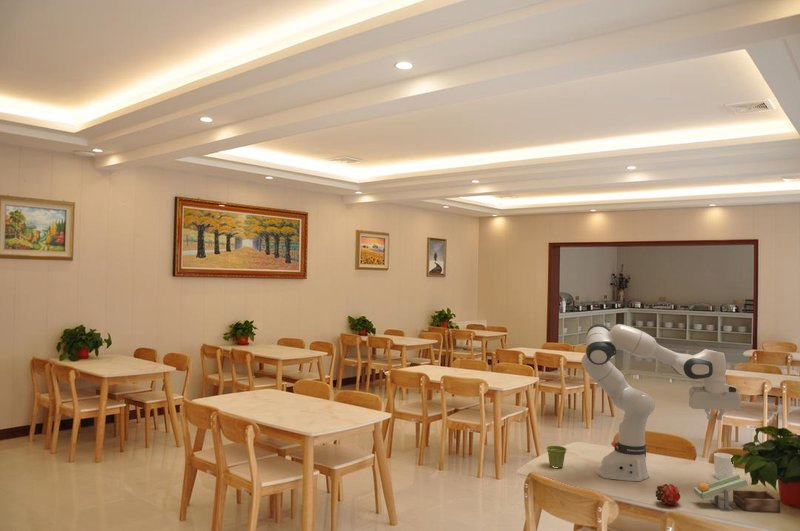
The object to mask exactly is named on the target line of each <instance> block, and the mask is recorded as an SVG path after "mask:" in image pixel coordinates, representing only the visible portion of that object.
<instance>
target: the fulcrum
mask: <svg viewBox="0 0 800 531" xmlns="http://www.w3.org/2000/svg"><path fill="white" fill-rule="evenodd" d="M709 501H710V502H711V503H712V504H713V505H715V507H716V508H718V509H719V510H720V511H728V512H729V511H731V512H732V511H734V509H733V508H732V507H731V506H730V505H729V492H728V491H727V490H724V493H723V500H722V499H720V498H719V495H717V496H714V497H713V498H709Z"/></svg>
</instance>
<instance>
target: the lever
mask: <svg viewBox="0 0 800 531" xmlns="http://www.w3.org/2000/svg"><path fill="white" fill-rule="evenodd" d="M715 478H716V480H717V481H716V480H715V481H713V482H710V483H706V484H707V485H708V486H709V491H706V492H703V493H702V492H701V491H700V490H699V489H698V486H697V487H696V486H694V487H693V490H694V493H695V495H696V496H697V497H699V498H700V499H701V500H702V501H704V500H707V499H712V498H714V496H717V495H718V496H721V495H724V490H727V491H728V493H730V492H733V490H738V489H739V490H740V489H741V488H744V487H747V486H749V485H748V481H747V479H746V478H745V479H742V478H740V475H739V474H735V475H734V474H733V476H731V477H728V476H726V475H722V476H719V477H715Z"/></svg>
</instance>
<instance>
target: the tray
mask: <svg viewBox="0 0 800 531" xmlns="http://www.w3.org/2000/svg"><path fill="white" fill-rule="evenodd" d="M732 502H733V503H734V504H736V505H737V506H739V507H740V509H742V510H743V511H745V512H760V513H761V512H763V513H764V512H765V513H767V512H768V513H781V499H779V498H777V497H775V496H774V495H773V494H771V493H770V492H768V491H767V490H740V489H739V490H738V489H735V490H732Z"/></svg>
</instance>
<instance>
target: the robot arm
mask: <svg viewBox="0 0 800 531" xmlns="http://www.w3.org/2000/svg"><path fill="white" fill-rule="evenodd" d="M617 350H621V351H623V352H626V353H628V354H630V355H632V356H634V357H638V358H641V359H642V358H643V359H651V358H652V359H655V360H657V361H660V362H662V363H664V364H666V365H668V366H670V368H672V369H673V370H674V371H675V373H676V374H678V375H680V376H683V377H686V378H688V379H691V380H701V379H702V386H692V387H690V388H689V391H688V395H689V398H688V406H689V407H690V408H691V409H693V410H695V409H696V410H704V412H705V413H706V415H707V420H709V421H710V420H711V421H712V420H713V419H714V417H713V415H712V414H710V412H711V410H718V411H719V413H718V414H716V420H717V421H722V420H723V416H724V413H725V412H726V411H725V410H728V411H729V410H731V411H732V410H733V411H734V410H735V411H736V410H737V411H738V410H739V411H740V409H741V408H742V401H741V395H740V394H739V387H736V386H735V385H732V384H729V383H727V377H726V373H727V363H726V362H727V360H726V356H725V353H724V352H723V351H722V350H719V349H715V348H714V349H713V348H710V347H709V348H704V349H703V350H702V351H699V352H698V353H695V354H691V353H688V352H676V351H673V350H671V349H669V348H666V347H664V346H662V345H660V344H659V343H658V342H657V340H656V339H655V337H653V336H651V335H650V334H649V333H647V332H645V331H642V330H641V329H638V328H635V327H633V326H629V325H626V324H621V323H616V324H615V325H614V326H612V327H611V328H610V329H609V327H608V326H607V325H605V324H603V323H595V324H592V325H591V326H590V327H589V328H588V330H587V332H586V338H585V354H584V355H583V356H582V358H581V359H580V360H581V362H580V363H581V366H582V367H583V369H584V371H585V372H586V373H587V375H588V376H590V378H591V379H592V380H593V381H594V382H595V383H596V384H597V385H598V386H599V387H600V388H601V389H602V390H603V391H604V392H605V393H606V395H607V396H608V398H609V399H610V401H611V403H612V404H613V405H614V406H615V407H617V409H619V410H623V411H624V415H623V419H622V421H621V422H620V423H619V425H618V441H617V442H615V441H612V442H611V446H612V447H613V451H611V452H609V453H608V454H607V455H605V456H604V457H602V460H601V466H598V467H596V469H595V472H596V471H597V473H598V474H599V475H600V476H599V475H598V474H597V473H596V474H597V475H598V476H599V477H600V478H602V479H606V480H607V479H608V480H618V481H619V480H620V481H629V482H641V481H643V480H647V479H648V478H650V477H649V476H650V475H649V471H648V468H647V467H648V466H647V461H646V458H647V444H646V426H647V425H646V424H647V421H648V419H649V417H650V415H651V414H652V413H653V412H654V410H655V407H656V406H655V401H654V398H653V397H652V396H651V395H649V394H648V393H646V392H645V391H643V390H640V389H637V388H634V387H632V386H631V385H630V384H629V383H628V382H627V380H626V379H625V375H624V374H623V373H622V372H621V371H620V370H619V369H618V368H617V367H616V366H615V365H614V364H613V363H612V362H611V361H610V360H611V359H612V358H613V357H614V356H615V355H616V354H617Z"/></svg>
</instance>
